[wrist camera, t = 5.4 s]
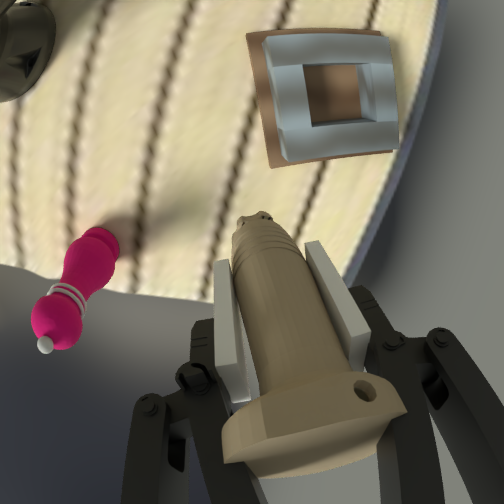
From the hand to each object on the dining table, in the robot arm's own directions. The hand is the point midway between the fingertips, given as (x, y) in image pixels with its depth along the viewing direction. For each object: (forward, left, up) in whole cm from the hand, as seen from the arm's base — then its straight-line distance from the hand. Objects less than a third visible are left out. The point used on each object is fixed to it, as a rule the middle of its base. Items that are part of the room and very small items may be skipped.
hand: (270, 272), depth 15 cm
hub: (-8, +12, -22) cm, 27 cm away
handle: (0, 0, -5) cm, 5 cm away
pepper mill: (+6, -22, -23) cm, 32 cm away
